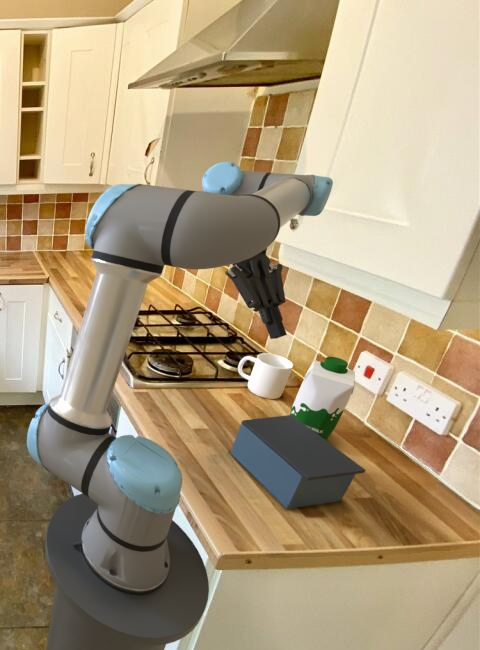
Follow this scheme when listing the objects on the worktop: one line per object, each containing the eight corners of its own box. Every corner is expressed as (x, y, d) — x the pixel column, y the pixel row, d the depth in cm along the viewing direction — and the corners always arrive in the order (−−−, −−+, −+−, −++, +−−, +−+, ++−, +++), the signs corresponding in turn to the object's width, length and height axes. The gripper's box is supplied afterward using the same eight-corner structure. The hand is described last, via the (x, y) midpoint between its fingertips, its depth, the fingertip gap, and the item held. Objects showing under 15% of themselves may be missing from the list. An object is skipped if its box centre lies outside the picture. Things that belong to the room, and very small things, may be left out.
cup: (275, 403, 113) (288, 372, 108) (228, 384, 121) (238, 354, 117) (285, 391, 118) (297, 361, 113) (238, 374, 126) (248, 345, 121)
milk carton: (328, 431, 102) (362, 363, 94) (326, 451, 96) (362, 380, 88) (286, 417, 108) (314, 350, 99) (281, 434, 101) (310, 365, 93)
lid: (364, 473, 79) (365, 470, 79) (306, 480, 77) (308, 477, 77) (290, 417, 94) (291, 414, 93) (241, 423, 92) (242, 420, 92)
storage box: (340, 501, 84) (358, 469, 80) (286, 509, 82) (302, 476, 78) (277, 447, 98) (290, 417, 94) (230, 453, 96) (241, 423, 92)
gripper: (255, 247, 100) (290, 339, 93) (207, 249, 98) (238, 344, 91) (281, 230, 93) (320, 329, 86) (229, 233, 91) (265, 333, 84)
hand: (278, 336), depth 88 cm, fingers closed
